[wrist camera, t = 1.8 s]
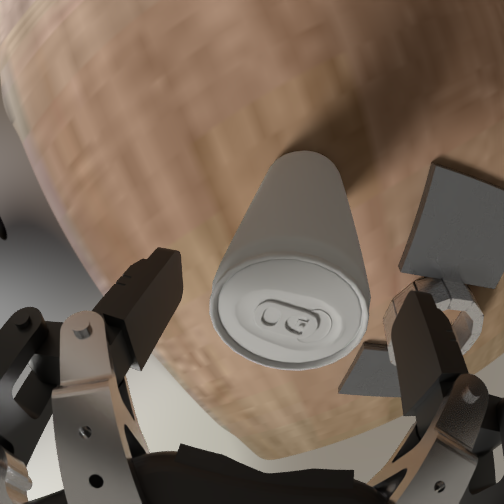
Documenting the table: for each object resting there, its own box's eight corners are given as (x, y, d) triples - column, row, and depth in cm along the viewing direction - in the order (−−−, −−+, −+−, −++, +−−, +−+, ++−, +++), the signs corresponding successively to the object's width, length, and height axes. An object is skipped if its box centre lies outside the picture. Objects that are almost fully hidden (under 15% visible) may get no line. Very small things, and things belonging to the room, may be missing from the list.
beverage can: (326, 228, 19) (328, 385, 9) (258, 205, 19) (195, 346, 9) (352, 163, 16) (406, 285, 6) (278, 137, 17) (220, 222, 7)
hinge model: (431, 162, 15) (450, 176, 13) (527, 199, 14) (547, 216, 11) (338, 387, 28) (337, 410, 26) (414, 391, 27) (417, 412, 25)
